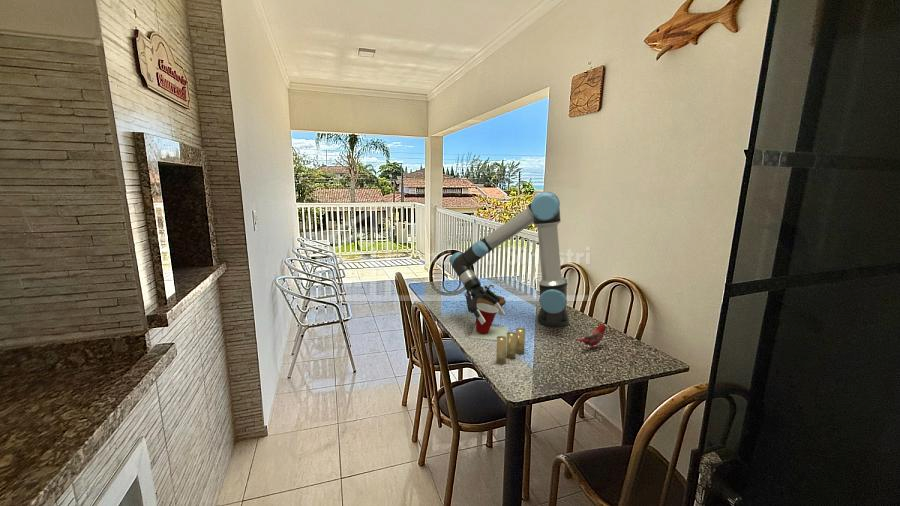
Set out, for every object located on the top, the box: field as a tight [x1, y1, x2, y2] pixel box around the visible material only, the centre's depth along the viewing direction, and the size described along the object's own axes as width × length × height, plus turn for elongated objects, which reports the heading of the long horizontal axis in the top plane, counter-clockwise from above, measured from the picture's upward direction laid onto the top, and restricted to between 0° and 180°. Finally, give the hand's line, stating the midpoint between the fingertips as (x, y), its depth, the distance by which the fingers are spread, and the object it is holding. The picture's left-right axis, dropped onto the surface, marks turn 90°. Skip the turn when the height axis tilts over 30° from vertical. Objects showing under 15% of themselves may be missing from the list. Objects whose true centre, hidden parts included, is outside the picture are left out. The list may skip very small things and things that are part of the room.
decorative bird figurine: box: [575, 323, 607, 350], centre depth 152 cm, size 3×18×10 cm, turn 118°
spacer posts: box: [496, 327, 526, 365], centre depth 146 cm, size 4×16×10 cm, turn 133°
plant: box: [477, 284, 506, 307], centre depth 215 cm, size 20×20×11 cm
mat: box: [469, 324, 510, 342], centre depth 171 cm, size 16×16×1 cm
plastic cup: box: [475, 303, 498, 334], centre depth 169 cm, size 11×11×12 cm
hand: (493, 319), depth 168 cm, fingers open, 13 cm apart
